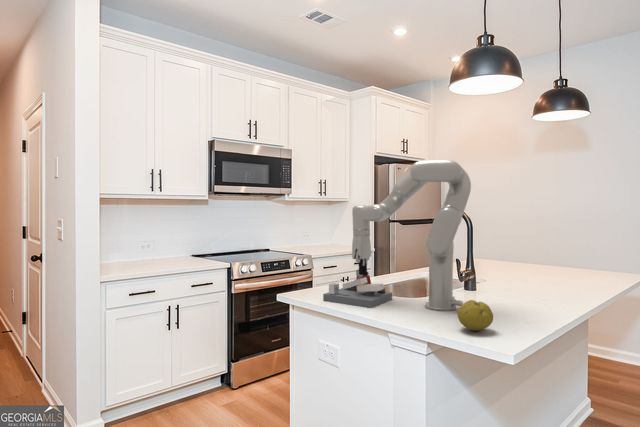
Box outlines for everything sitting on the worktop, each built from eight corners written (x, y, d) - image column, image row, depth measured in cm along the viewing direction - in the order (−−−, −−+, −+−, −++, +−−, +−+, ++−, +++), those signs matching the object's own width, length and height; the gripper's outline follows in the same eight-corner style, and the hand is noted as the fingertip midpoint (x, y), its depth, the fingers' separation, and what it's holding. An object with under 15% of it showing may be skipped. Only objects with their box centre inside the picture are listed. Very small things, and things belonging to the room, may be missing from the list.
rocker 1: (367, 282, 195) (366, 276, 196) (361, 284, 190) (359, 278, 191) (349, 286, 201) (348, 281, 201) (343, 288, 196) (341, 283, 196)
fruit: (451, 326, 147) (451, 297, 147) (484, 325, 147) (484, 297, 147) (463, 336, 136) (464, 305, 136) (499, 335, 136) (499, 304, 136)
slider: (338, 292, 188) (338, 283, 188) (334, 294, 184) (334, 285, 184) (333, 292, 189) (333, 283, 189) (328, 293, 186) (328, 284, 186)
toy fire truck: (363, 294, 200) (363, 272, 200) (351, 289, 211) (351, 269, 211) (375, 293, 203) (375, 271, 202) (363, 288, 214) (363, 268, 214)
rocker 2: (383, 288, 184) (382, 283, 184) (377, 291, 179) (376, 285, 179) (363, 289, 190) (362, 283, 190) (357, 291, 185) (356, 285, 185)
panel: (392, 299, 190) (392, 288, 190) (371, 308, 173) (372, 296, 173) (346, 293, 203) (346, 283, 203) (323, 300, 186) (323, 289, 186)
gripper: (362, 232, 195) (363, 271, 195) (345, 234, 183) (347, 276, 183) (376, 232, 191) (378, 272, 191) (361, 234, 178) (362, 277, 178)
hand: (363, 274), depth 187 cm, fingers closed
